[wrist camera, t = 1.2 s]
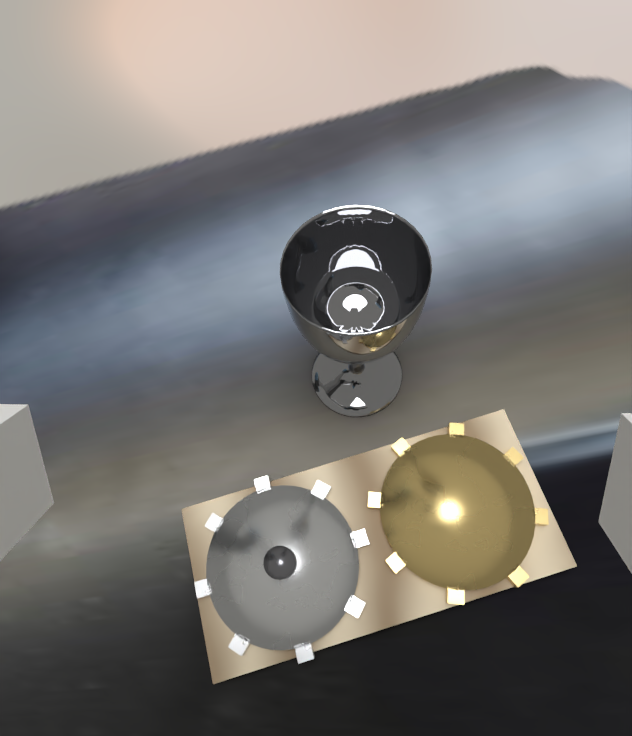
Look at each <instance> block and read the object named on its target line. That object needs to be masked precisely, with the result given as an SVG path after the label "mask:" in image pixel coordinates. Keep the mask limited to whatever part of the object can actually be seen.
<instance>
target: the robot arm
mask: <svg viewBox="0 0 632 736" xmlns="http://www.w3.org/2000/svg"><path fill="white" fill-rule="evenodd" d="M53 504H54V501H53V497H52V494H51V490H50V486H49V482H48V478H47V475H46V471H45V467H44V463H43V459H42V455H41V452H40V448H39V444H38V440H37V436H36V432H35V429H34V425H33V421H32V417H31V413H30V409H29V406H28V405H18V404H0V561H1V560H2V559H3V558H4V557H5V555H6V554H7V553H8V552H9V551H10V550H11V549H12V548H13V547H14V546H15V545H16V544H17V542H18V541H19V540H20V539H21V538H22V537H23V536H24V535H25V534H26V533H27V532H28V531H29V530H30V528H31V527H32V526H33V525H34V524H35V523H36V522H37V521H38V520H39V519H40V518H41V517H42V516H43V514H44V513H45V512H46V511H47V510H48V509H49V508H50V507H51V506H52V505H53ZM599 523H600V525H601V527H602V528H603V530H604V531H605V533H606V534H607V536H608V537H609V539H610V541H611V542H612V544H613V545H614V547H615V548H616V550H617V551H618V553H619V554H620V556H621V558H622V559H623V561H624V562H625V564H626V565H627V567H628V568H629V570H630V572H631V573H632V413H621V417H620V422H619V426H618V431H617V436H616V441H615V446H614V450H613V455H612V460H611V465H610V469H609V474H608V479H607V484H606V488H605V493H604V498H603V503H602V507H601V512H600V517H599Z"/></svg>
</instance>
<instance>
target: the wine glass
mask: <svg viewBox="0 0 632 736" xmlns="http://www.w3.org/2000/svg"><path fill="white" fill-rule="evenodd" d="M431 273H432V264H431V256H430V253H429V249H428V246H427V245H426V243H425V241H424V239H423V237H422V236H421V235H420V233H419V232H418V231H417V230H416V228H415V227H414V226H412V225H411V224H410V223H409V222H408V221H407V220H405V219H404V218H402V217H400V216H399V215H397V214H395V213H393V212H390V211H388V210H385V209H382V208H378V207H373V206H365V205H349V206H343V207H337V208H333V209H330V210H327V211H324V212H322V213H320V214H318V215H316V216H314V217H312V218H311V219H310V220H308V221H307V222H305V223H304V224H303V225H302V226H301V227H300V228H299V229H298V230H297V231H295V233H294V234H293V235H292V237H291V238H290V239H289V241H288V243H287V245H286V247H285V249H284V251H283V254H282V258H281V262H280V278H281V285H282V290H283V294H284V298H285V301H286V303H287V306H288V309H289V312H290V314H291V317H292V319H293V321H294V323H295V324H296V326H297V328H298V329H299V331H300V332H301V334H302V336H303V337H304V338H305V339H306V340H307V341H308V342H309V343H310V345H311V346H312V347H313V348H314V349H315V350H317V351H318V352H319V353H318V355H317V357H316V359H315V361H314V364H313V368H312V382H313V387H314V389H315V392H316V394H317V395H318V397H319V399H320V400H321V401H322V402H323V403H324V404H325V405H326V406H327V407H328V408H330V409H331V410H333V411H335V412H337V413H339V414H342V415H345V416H350V417H364V416H369V415H372V414H375V413H377V412H379V411H381V410H383V409H384V408H386V407H387V406H388V405H389V404H390V403H391V402H392V401H393V400H394V398H395V397H396V395H397V393H398V392H399V389H400V386H401V382H402V368H401V364H400V361H399V359H398V357H397V355H396V354H395V352H394V351H395V350H396V349H397V348H398V347H399V346H400V345H401V344H402V343H403V342H404V340H405V339H406V338H407V337H408V336H409V335H410V333H411V331H412V330H413V328H414V326H415V325H416V323H417V321H418V319H419V318H420V316H421V313H422V310H423V307H424V304H425V301H426V298H427V295H428V291H429V287H430V281H431Z"/></svg>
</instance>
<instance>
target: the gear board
mask: <svg viewBox="0 0 632 736" xmlns="http://www.w3.org/2000/svg"><path fill="white" fill-rule="evenodd" d="M254 483H255V486H254V487H251V488H248V489H245V490H241V491H238V492H235V493H232V494H228V495H225V496H222V497H219V498H215V499H212V500H209V501H206V502H203V503H199V504H196V505H193V506H190V507H186V508H183V509H182V515H183V520H184V526H185V531H186V537H187V542H188V548H189V554H190V559H191V565H192V570H193V576H194V581H195V582H194V584H195V590H196V595H197V598H198V604H199V609H200V615H201V620H202V626H203V631H204V637H205V642H206V648H207V653H208V659H209V665H210V670H211V676H212V681H213V684H216V683H219V682H222V681H225V680H228V679H231V678H234V677H237V676H240V675H243V674H247V673H250V672H253V671H256V670H259V669H262V668H265V667H268V666H271V665H274V664H277V663H280V662H284V661H287V660H290V659H293V658H296V657H297V661H298V664H299V663H302V662H306V661H309V660H312V659H314V658H315V654H314V651H317V650H321V649H324V648H327V647H330V646H333V645H336V644H339V643H342V642H345V641H348V640H351V639H354V638H358V637H361V636H364V635H367V634H370V633H373V632H376V631H379V630H382V629H385V628H388V627H391V626H395V625H398V624H401V623H404V622H407V621H410V620H413V619H416V618H419V617H422V616H425V615H428V614H432V613H435V612H438V611H441V610H444V609H447V608H450V607H453V606H456V605H464V603H466V602H469V601H472V600H475V599H478V598H481V597H484V596H487V595H490V594H493V593H496V592H499V591H503V590H506V589H509V588H512V587H515V588H518V587H519V586H521V585H522V584H524V583H527V582H530V581H533V580H536V579H540V578H543V577H546V576H549V575H552V574H555V573H558V572H561V571H564V570H567V569H570V568H573V567H577V565H576V563H575V561H574V559H573V556H572V554H571V552H570V550H569V548H568V546H567V544H566V541H565V539H564V537H563V535H562V533H561V531H560V529H559V526H558V524H557V522H556V520H555V518H554V516H553V514H552V511H551V509H550V507H549V505H548V503H547V501H546V499H545V496H544V494H543V492H542V490H541V488H540V486H539V484H538V481H537V479H536V477H535V475H534V473H533V471H532V469H531V467H530V464H529V462H528V460H527V458H526V456H525V454H524V452H523V449H522V447H521V445H520V443H519V441H518V439H517V437H516V434H515V432H514V430H513V428H512V426H511V424H510V422H509V419H508V417H507V415H506V413H505V411H504V409H503V410H500V411H497V412H493V413H490V414H487V415H484V416H480V417H477V418H474V419H471V420H468V421H464V422H461V423H449V425H448V427H445V428H442V429H438V430H435V431H432V432H429V433H426V434H422V435H419V436H416V437H413V438H409V439H406V440H404V439H403V438H401V439H399V440H398V441H397V442H396V443H393V444H390V445H387V446H384V447H380V448H377V449H374V450H371V451H367V452H364V453H361V454H358V455H354V456H351V457H348V458H345V459H341V460H338V461H335V462H332V463H329V464H325V465H322V466H319V467H316V468H312V469H309V470H306V471H303V472H299V473H296V474H293V475H290V476H287V477H283V478H280V479H277V480H274V481H270V478H269V476H268V475H267V476H263V477H260V478H257V479H254Z"/></svg>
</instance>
